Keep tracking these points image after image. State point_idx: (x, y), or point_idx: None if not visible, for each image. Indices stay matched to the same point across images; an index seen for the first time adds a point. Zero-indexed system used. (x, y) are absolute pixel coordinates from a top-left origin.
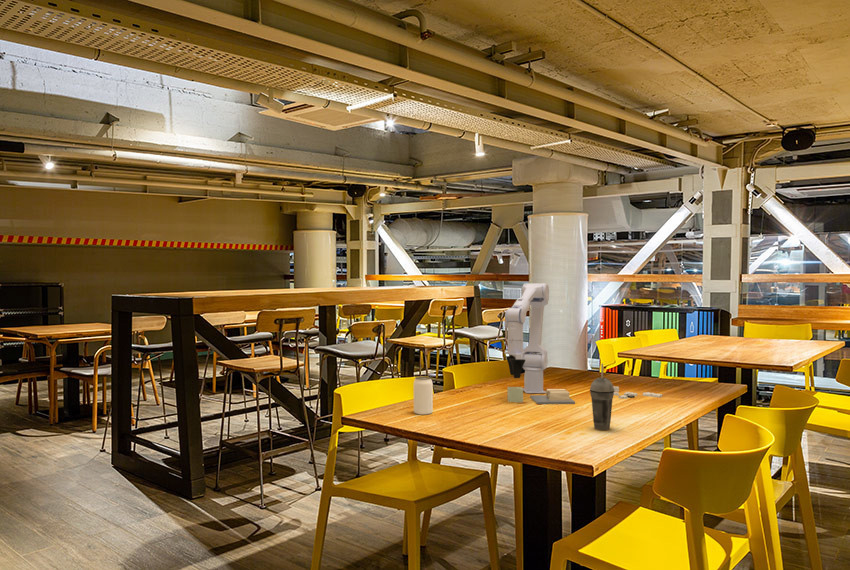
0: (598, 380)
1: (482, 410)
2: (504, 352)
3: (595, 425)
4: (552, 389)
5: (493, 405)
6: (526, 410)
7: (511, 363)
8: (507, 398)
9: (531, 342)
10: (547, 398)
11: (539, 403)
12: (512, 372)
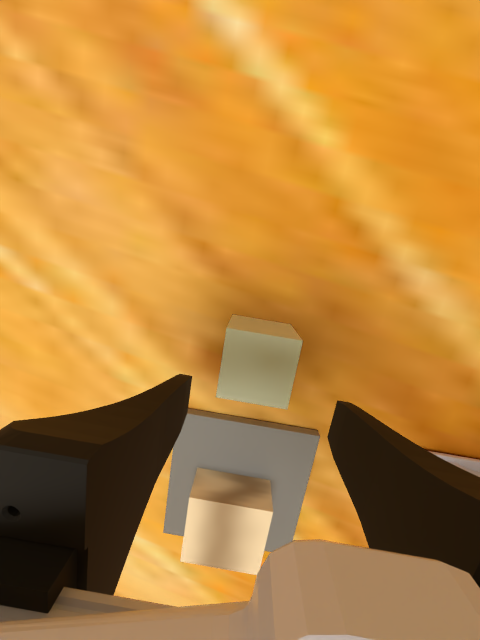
0: None
1: (75, 133)
2: (437, 612)
3: None
4: (258, 530)
5: (179, 221)
6: (68, 326)
7: (84, 420)
8: (290, 325)
9: None
10: (239, 472)
11: None
12: (342, 423)
